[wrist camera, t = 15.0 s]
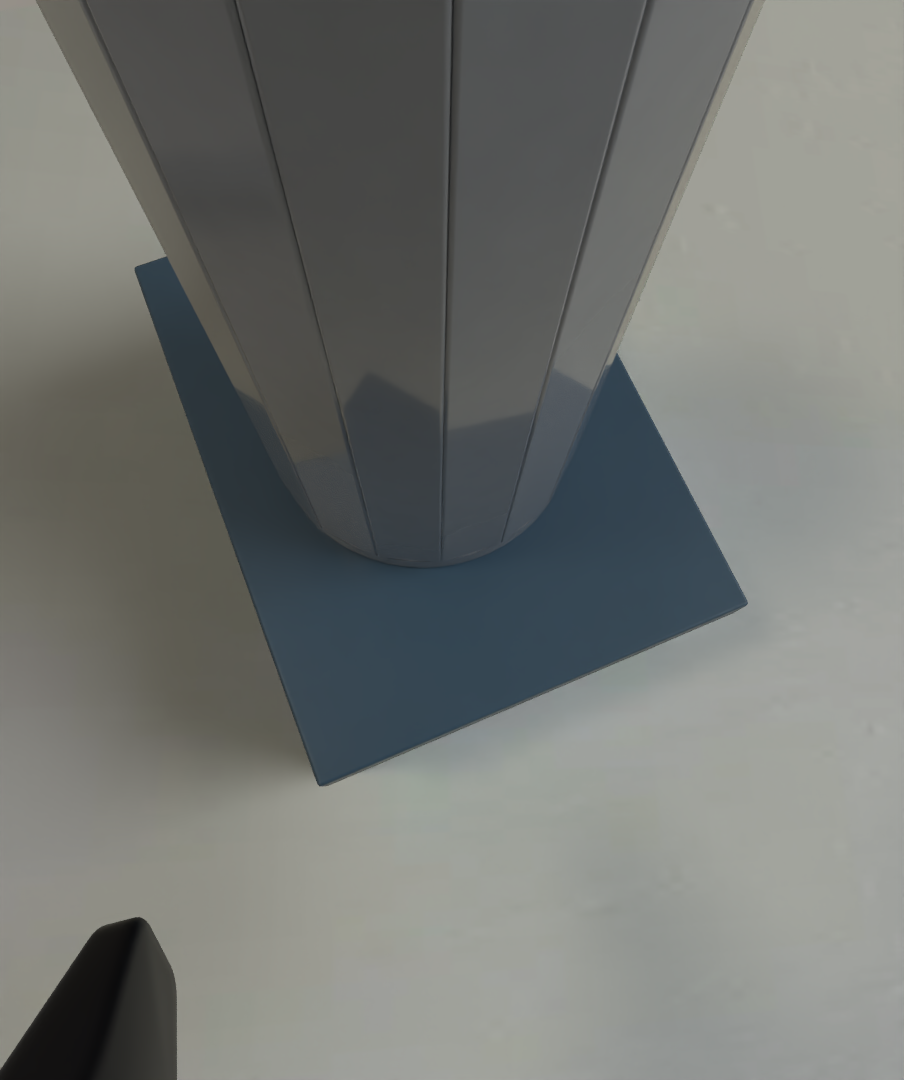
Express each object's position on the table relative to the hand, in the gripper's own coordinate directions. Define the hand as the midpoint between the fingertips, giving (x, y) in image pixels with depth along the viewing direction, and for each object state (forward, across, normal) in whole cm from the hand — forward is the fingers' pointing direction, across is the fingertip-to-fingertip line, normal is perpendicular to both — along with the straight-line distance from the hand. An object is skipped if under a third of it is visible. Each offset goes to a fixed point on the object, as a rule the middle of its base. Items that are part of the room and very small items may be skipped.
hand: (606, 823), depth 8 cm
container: (+15, 0, +3) cm, 15 cm away
